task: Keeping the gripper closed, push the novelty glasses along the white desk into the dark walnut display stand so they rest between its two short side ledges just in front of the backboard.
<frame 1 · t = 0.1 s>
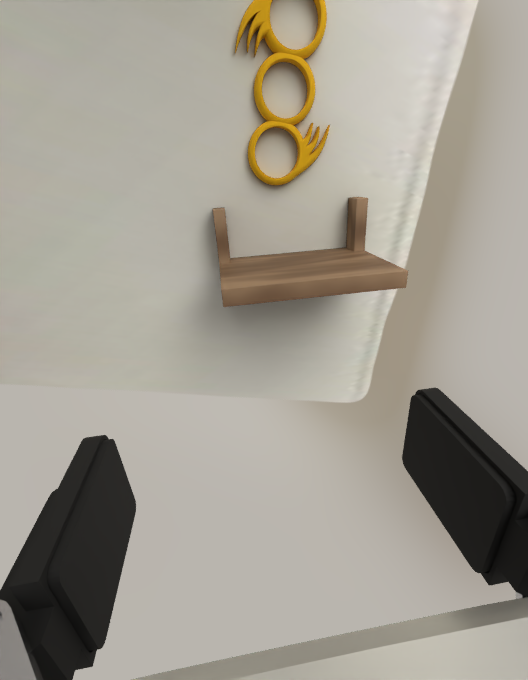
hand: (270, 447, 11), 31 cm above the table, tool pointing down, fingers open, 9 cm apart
display stand: (287, 202, 37), on the table
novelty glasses: (282, 93, 33), on the table
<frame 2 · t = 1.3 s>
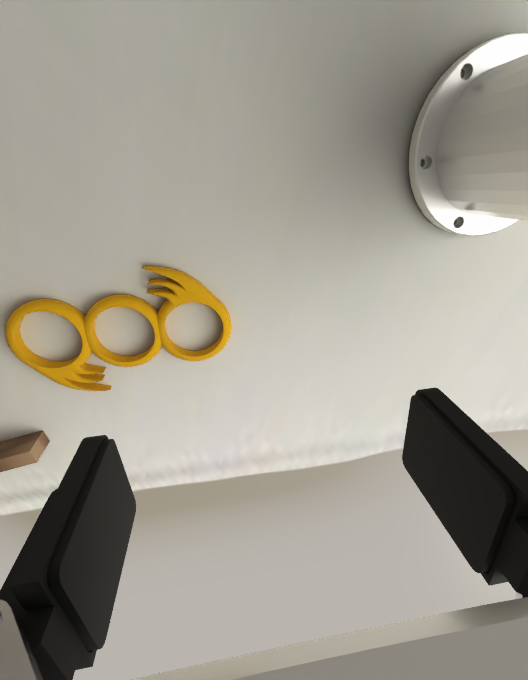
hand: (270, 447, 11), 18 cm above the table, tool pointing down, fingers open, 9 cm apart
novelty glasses: (127, 327, 27), on the table
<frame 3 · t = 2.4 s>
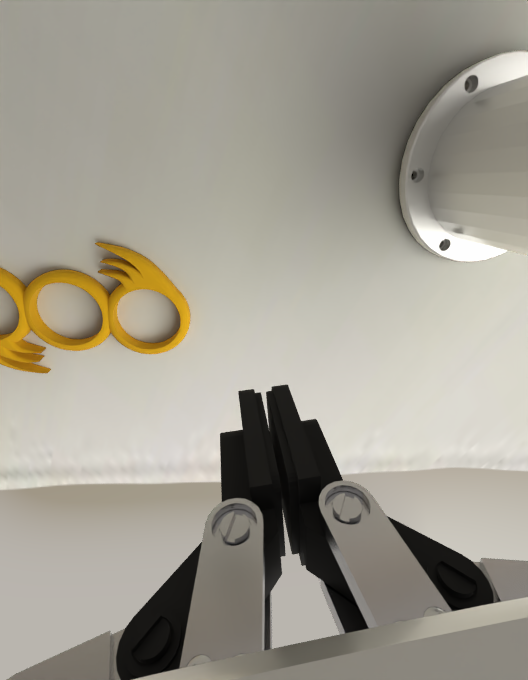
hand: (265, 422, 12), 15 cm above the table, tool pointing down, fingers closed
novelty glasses: (75, 307, 25), on the table
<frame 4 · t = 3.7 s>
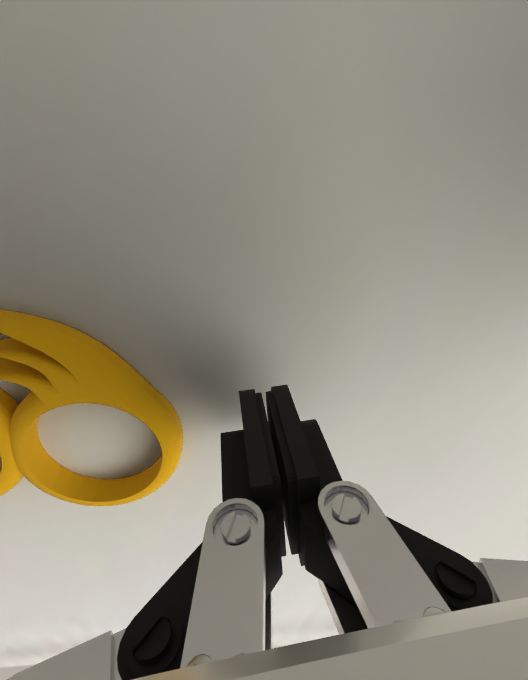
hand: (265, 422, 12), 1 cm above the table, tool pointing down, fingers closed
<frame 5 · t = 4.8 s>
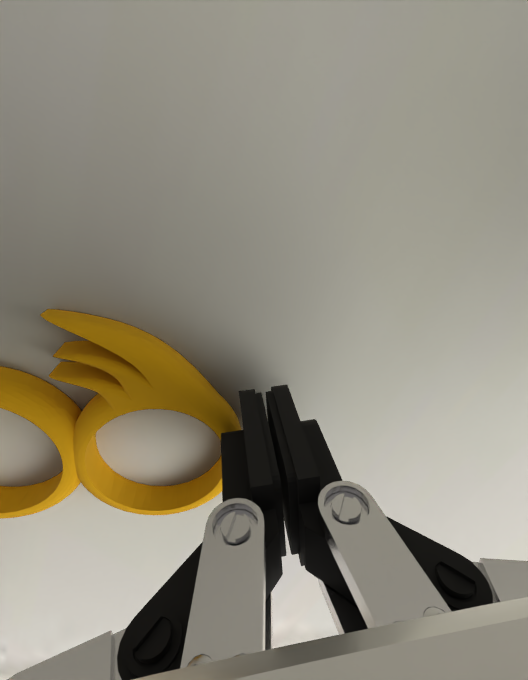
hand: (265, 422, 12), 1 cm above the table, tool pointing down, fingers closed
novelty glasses: (11, 427, 12), on the table
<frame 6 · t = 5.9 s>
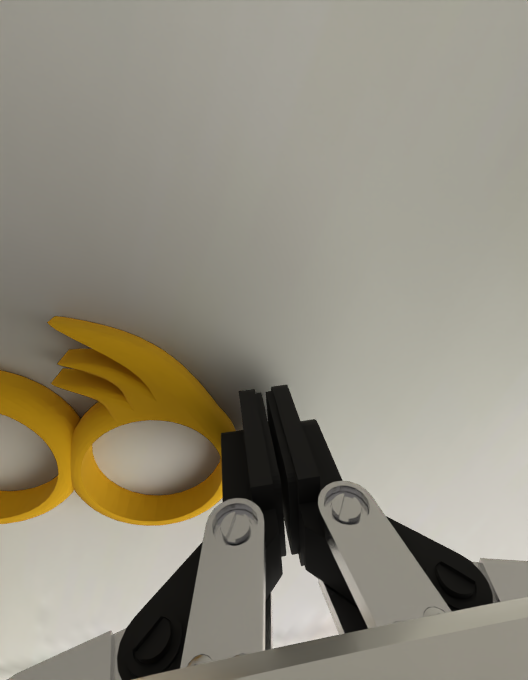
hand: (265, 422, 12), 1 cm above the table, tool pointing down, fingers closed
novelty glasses: (5, 431, 12), on the table
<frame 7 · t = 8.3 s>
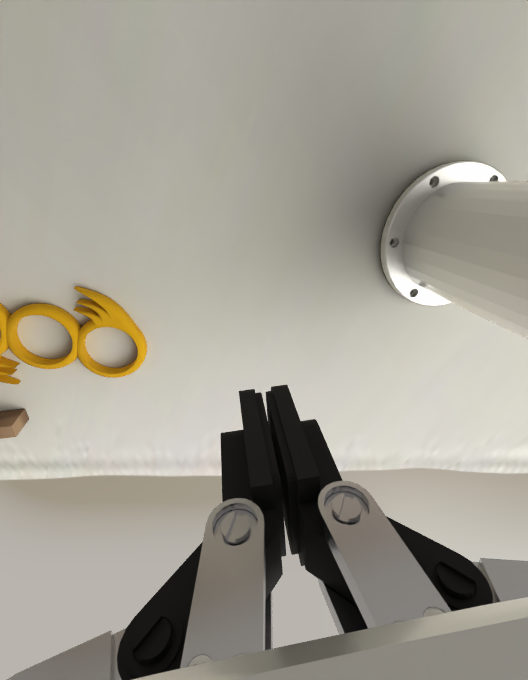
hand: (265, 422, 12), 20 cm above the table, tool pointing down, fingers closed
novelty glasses: (50, 332, 29), on the table
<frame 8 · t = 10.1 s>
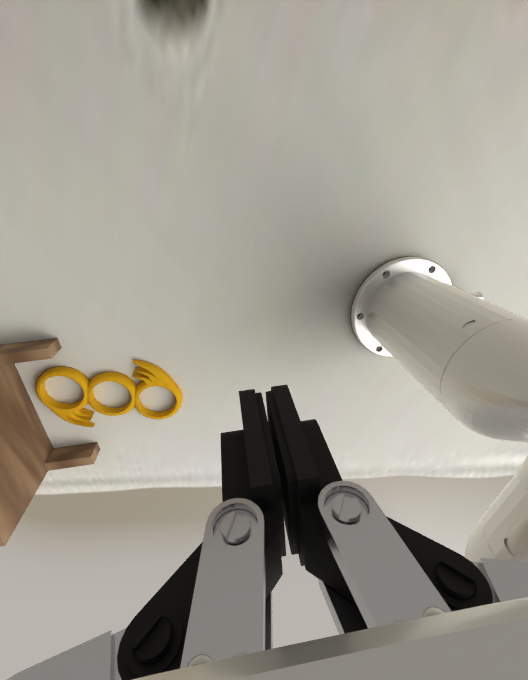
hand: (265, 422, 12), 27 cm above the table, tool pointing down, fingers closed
display stand: (80, 398, 41), on the table
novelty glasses: (114, 389, 41), on the table
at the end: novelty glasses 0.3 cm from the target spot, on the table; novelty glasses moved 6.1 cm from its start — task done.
